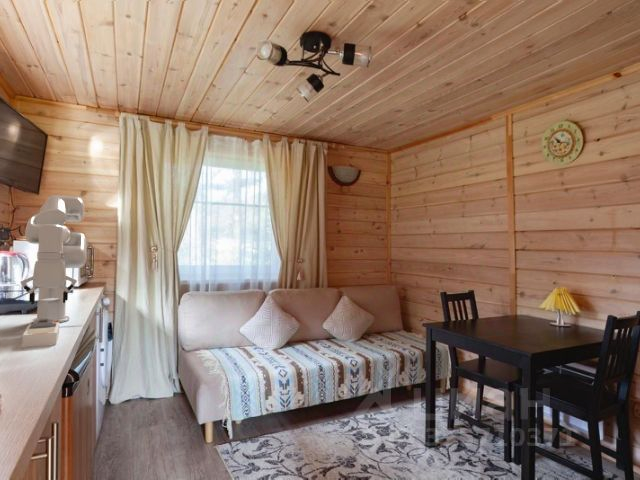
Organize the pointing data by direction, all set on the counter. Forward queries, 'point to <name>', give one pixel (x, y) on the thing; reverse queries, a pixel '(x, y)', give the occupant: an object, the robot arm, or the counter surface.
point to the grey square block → (43, 323)
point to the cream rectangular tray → (40, 336)
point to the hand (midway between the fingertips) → (48, 303)
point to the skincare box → (49, 309)
